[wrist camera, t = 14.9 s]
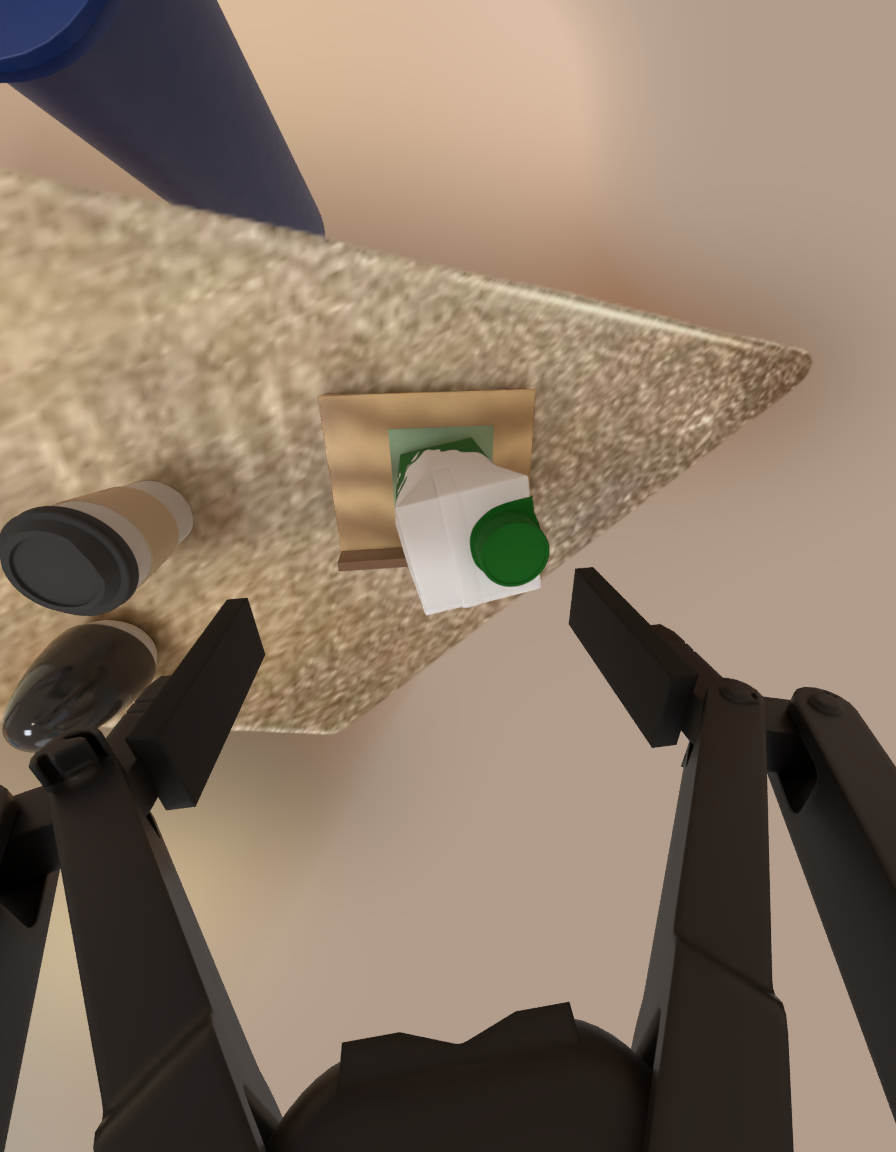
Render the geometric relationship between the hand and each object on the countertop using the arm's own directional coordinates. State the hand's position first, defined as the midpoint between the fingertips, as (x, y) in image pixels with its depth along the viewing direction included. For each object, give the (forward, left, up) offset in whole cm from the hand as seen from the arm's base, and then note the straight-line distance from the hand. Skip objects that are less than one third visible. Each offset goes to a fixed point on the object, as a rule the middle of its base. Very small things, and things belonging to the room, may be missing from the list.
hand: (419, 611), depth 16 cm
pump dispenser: (+20, -35, -30) cm, 51 cm away
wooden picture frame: (+1, +3, -30) cm, 30 cm away
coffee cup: (+4, -26, -30) cm, 41 cm away
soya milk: (+1, +4, -26) cm, 26 cm away
